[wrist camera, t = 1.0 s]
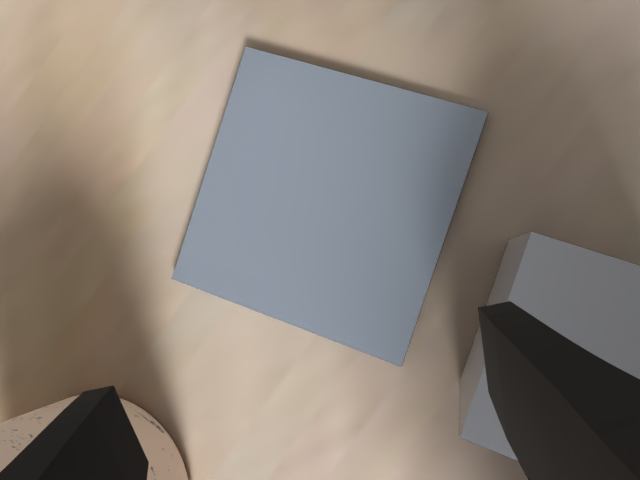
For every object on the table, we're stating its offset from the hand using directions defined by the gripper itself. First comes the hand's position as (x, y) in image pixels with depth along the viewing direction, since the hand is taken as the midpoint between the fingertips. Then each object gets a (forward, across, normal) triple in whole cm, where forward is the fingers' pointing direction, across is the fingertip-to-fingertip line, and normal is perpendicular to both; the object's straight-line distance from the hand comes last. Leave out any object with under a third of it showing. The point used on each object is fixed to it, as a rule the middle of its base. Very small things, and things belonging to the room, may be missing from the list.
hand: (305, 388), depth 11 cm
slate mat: (+13, -1, +1) cm, 13 cm away
